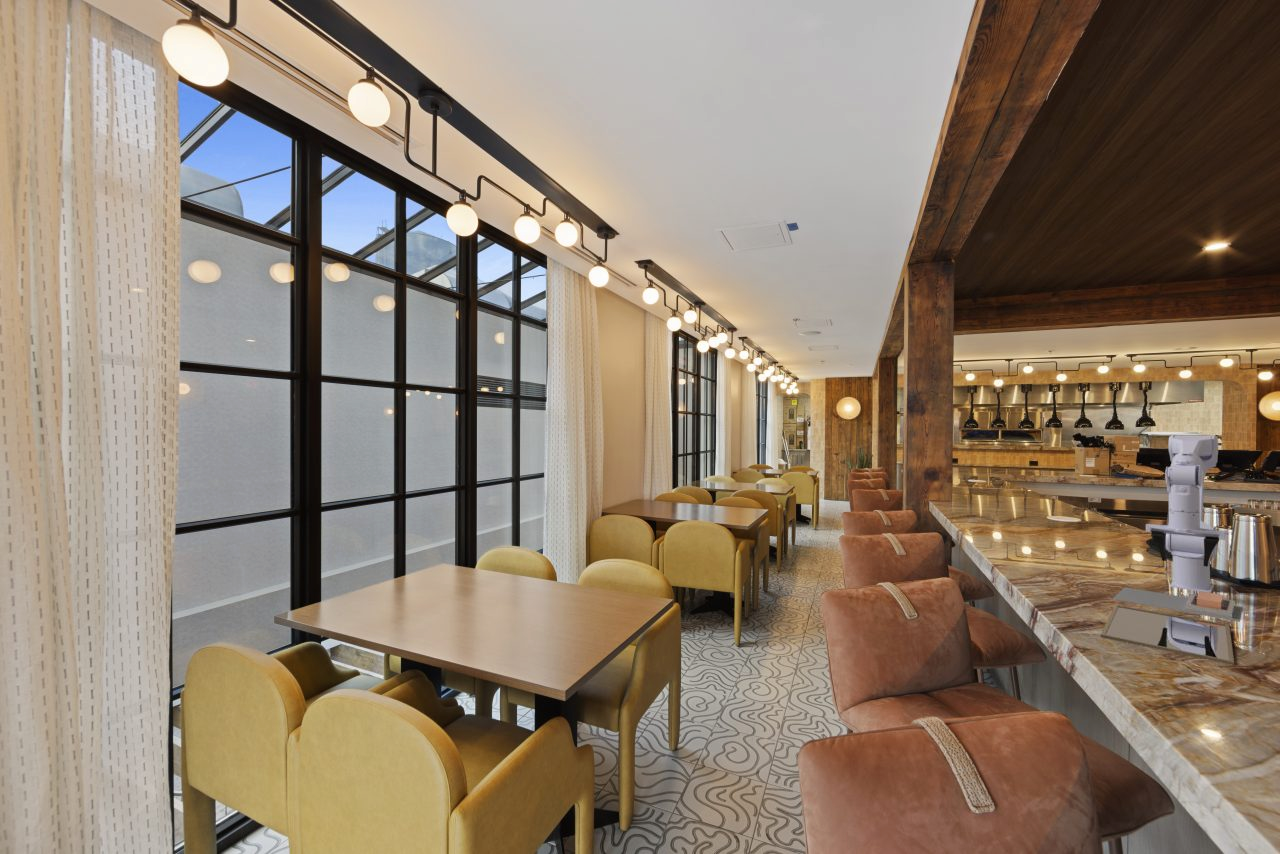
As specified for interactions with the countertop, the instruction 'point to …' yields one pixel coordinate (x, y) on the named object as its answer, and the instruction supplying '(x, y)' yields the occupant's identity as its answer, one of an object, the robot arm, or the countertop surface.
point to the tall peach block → (1210, 600)
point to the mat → (1166, 601)
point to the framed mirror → (1170, 633)
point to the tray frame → (1208, 610)
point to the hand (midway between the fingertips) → (1184, 563)
